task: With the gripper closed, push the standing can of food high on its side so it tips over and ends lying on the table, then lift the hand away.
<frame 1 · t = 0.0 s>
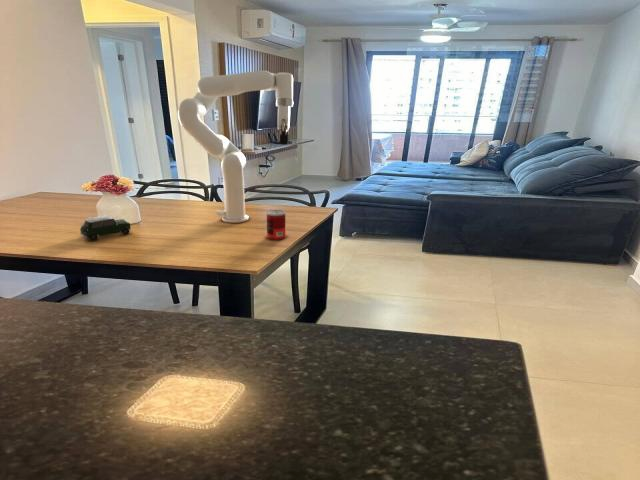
hand: (284, 142, 174), 37 cm above the table, tool pointing down, fingers open, 9 cm apart
miniature car: (107, 235, 158), on the table
canned food: (276, 237, 161), on the table
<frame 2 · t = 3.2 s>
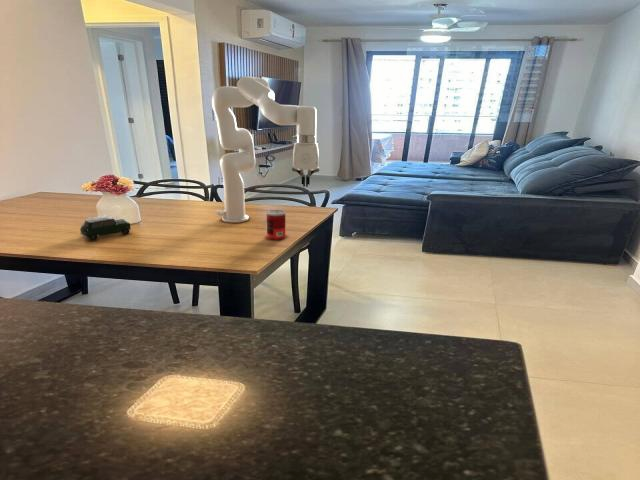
hand: (305, 186, 154), 22 cm above the table, tool pointing down, fingers closed
nothing on the table moved.
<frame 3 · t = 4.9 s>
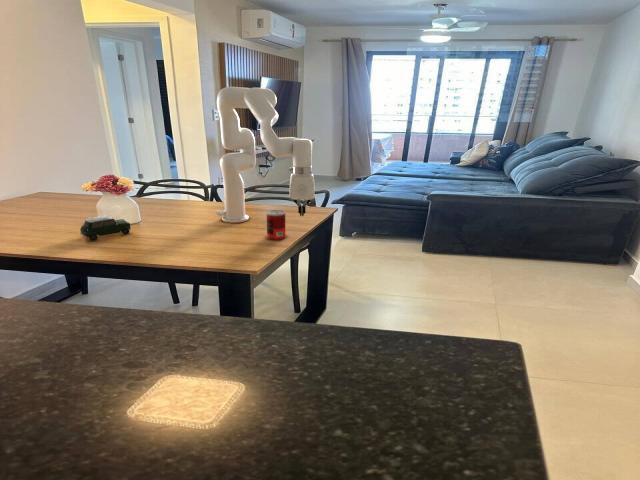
hand: (301, 215, 158), 10 cm above the table, tool pointing down, fingers closed
nothing on the table moved.
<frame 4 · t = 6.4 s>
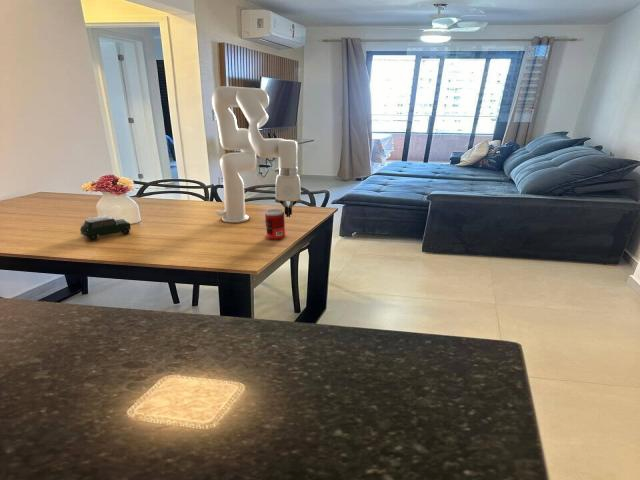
hand: (288, 216, 158), 9 cm above the table, tool pointing down, fingers closed
canned food: (276, 237, 161), on the table, touching gripper
everything else where it was.
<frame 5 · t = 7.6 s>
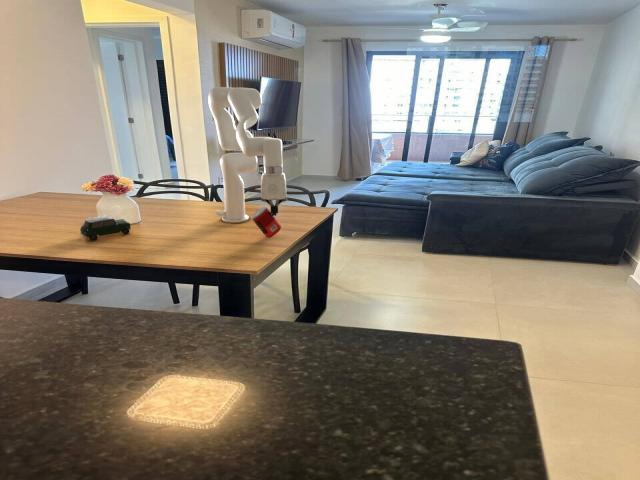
hand: (274, 215, 157), 10 cm above the table, tool pointing down, fingers closed
canned food: (274, 232, 160), point 2 cm above the table, touching gripper
everything else where it was.
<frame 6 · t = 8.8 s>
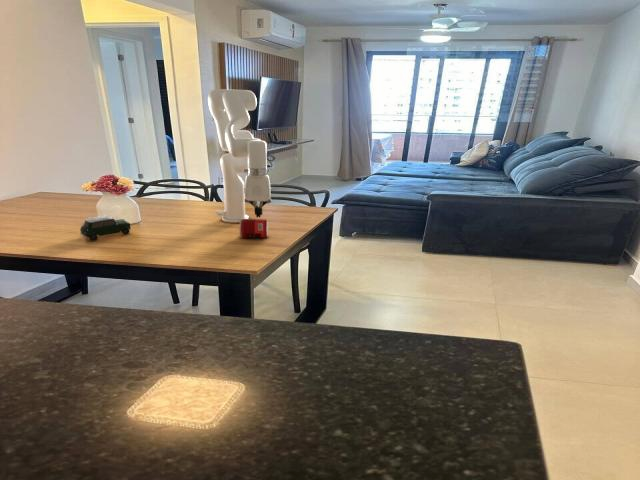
hand: (258, 216, 158), 9 cm above the table, tool pointing down, fingers closed
canned food: (267, 228, 160), point 4 cm above the table
everything else where it was.
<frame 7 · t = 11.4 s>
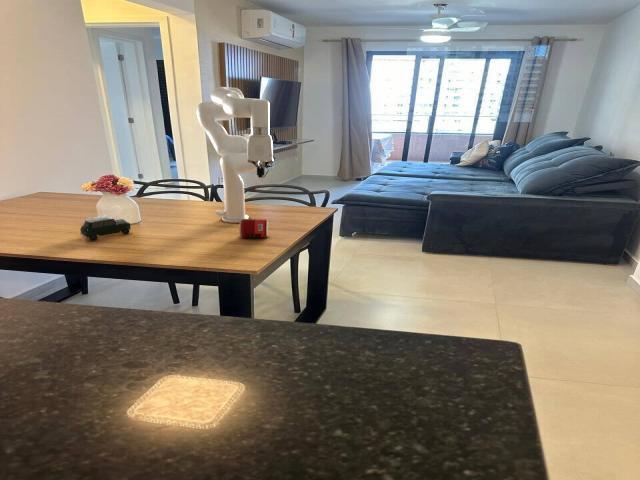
hand: (260, 177, 160), 24 cm above the table, tool pointing down, fingers closed
nothing on the table moved.
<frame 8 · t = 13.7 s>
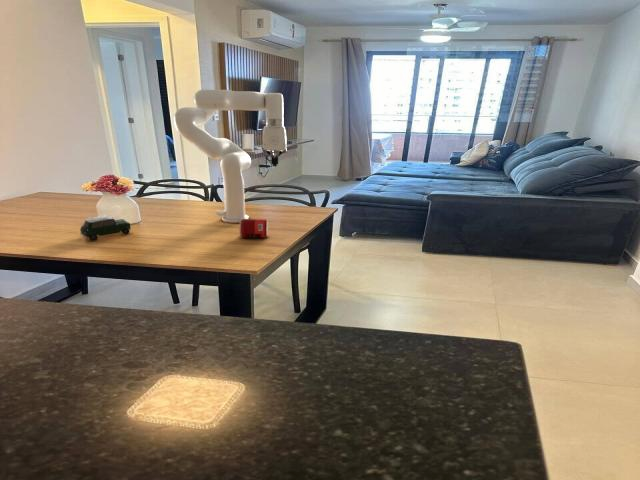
hand: (274, 165, 171), 27 cm above the table, tool pointing down, fingers closed
nothing on the table moved.
at the end: canned food tilted 90°; the gripper is holding nothing; canned food inside the target area (4.4 cm from its centre), point 3.9 cm above the table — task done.
